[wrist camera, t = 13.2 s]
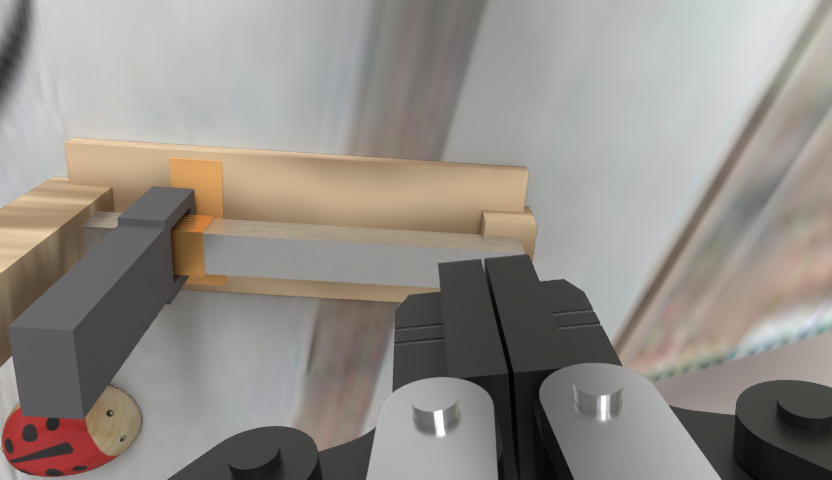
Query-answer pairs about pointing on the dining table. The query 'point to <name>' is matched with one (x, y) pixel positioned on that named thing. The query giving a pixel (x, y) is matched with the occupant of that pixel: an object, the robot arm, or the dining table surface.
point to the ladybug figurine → (71, 437)
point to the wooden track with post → (251, 208)
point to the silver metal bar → (312, 250)
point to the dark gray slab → (98, 310)
